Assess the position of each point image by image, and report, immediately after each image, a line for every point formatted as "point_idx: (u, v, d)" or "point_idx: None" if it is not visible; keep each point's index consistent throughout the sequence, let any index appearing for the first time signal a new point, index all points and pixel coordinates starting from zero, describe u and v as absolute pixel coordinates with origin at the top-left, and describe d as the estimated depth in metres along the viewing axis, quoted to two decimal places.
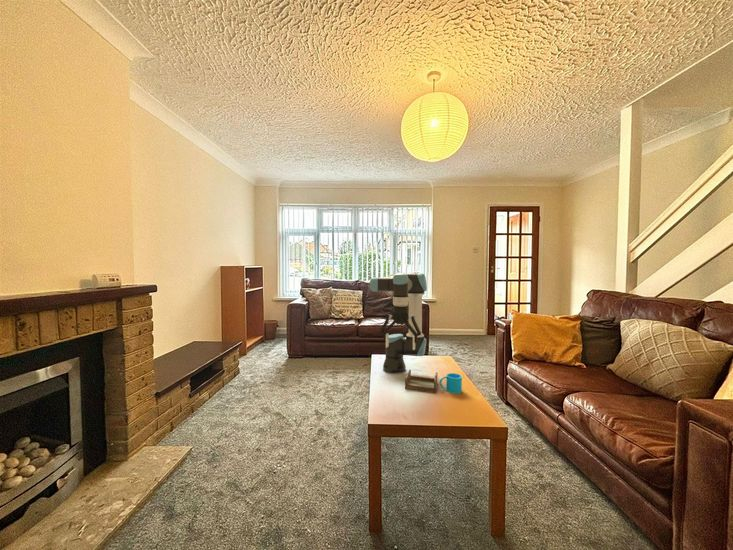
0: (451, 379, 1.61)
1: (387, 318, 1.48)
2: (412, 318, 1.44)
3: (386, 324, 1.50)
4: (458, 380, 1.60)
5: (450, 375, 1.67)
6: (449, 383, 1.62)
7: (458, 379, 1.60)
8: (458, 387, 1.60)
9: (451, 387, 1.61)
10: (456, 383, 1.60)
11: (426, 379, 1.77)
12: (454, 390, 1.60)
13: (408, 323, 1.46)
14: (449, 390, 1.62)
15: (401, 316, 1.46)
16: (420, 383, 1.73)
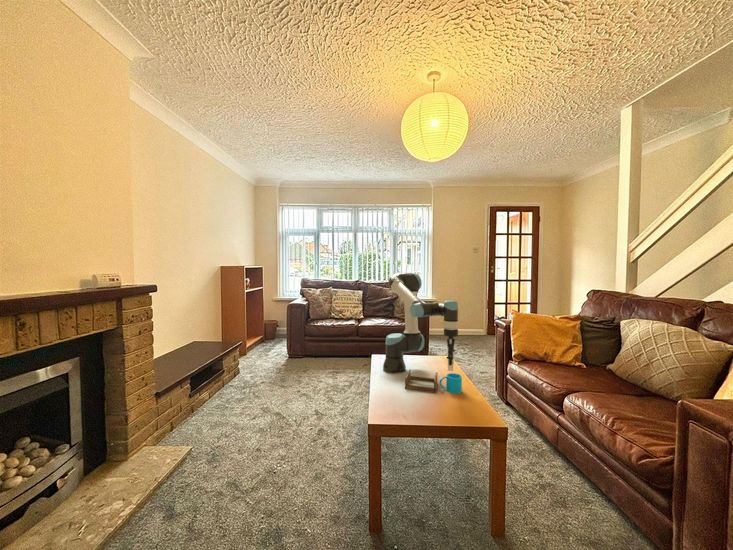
0: (451, 379, 1.61)
1: None
2: (448, 341, 1.59)
3: None
4: (458, 380, 1.60)
5: (450, 375, 1.67)
6: (449, 383, 1.62)
7: (458, 379, 1.60)
8: (458, 387, 1.60)
9: (451, 387, 1.61)
10: (456, 383, 1.60)
11: (426, 379, 1.77)
12: (454, 390, 1.60)
13: None
14: (449, 390, 1.62)
15: (448, 338, 1.64)
16: (420, 383, 1.73)
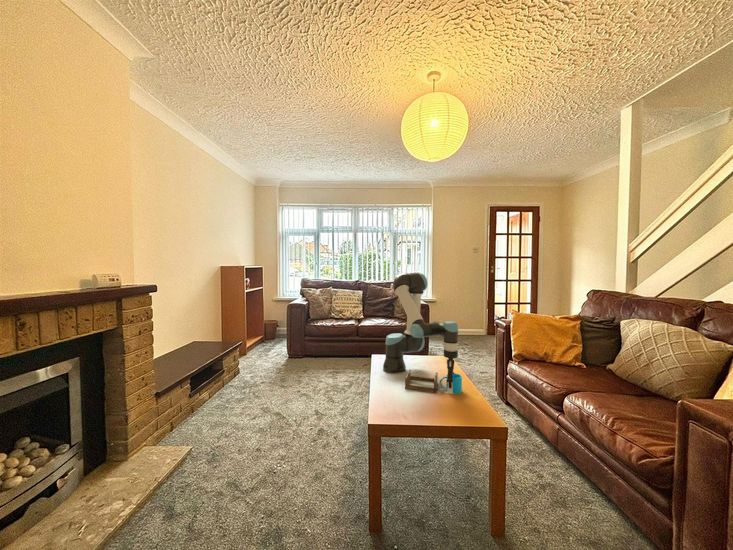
0: None
1: None
2: (447, 364, 1.59)
3: None
4: (458, 380, 1.60)
5: None
6: None
7: (458, 379, 1.60)
8: (458, 387, 1.60)
9: None
10: (456, 383, 1.60)
11: (426, 379, 1.77)
12: (454, 390, 1.60)
13: None
14: None
15: None
16: (420, 383, 1.73)
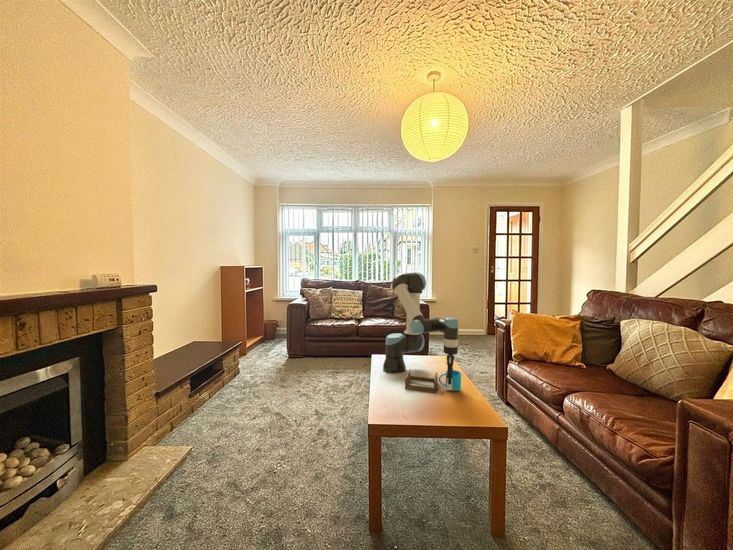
0: None
1: None
2: (447, 361, 1.59)
3: None
4: (457, 377, 1.60)
5: None
6: None
7: (457, 376, 1.60)
8: (457, 384, 1.61)
9: None
10: (455, 380, 1.60)
11: (426, 379, 1.77)
12: (453, 387, 1.61)
13: None
14: None
15: None
16: (420, 383, 1.73)
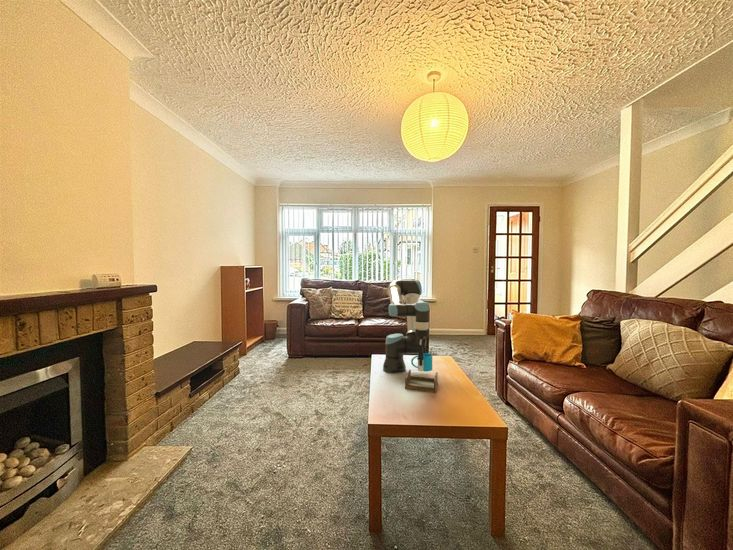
0: None
1: None
2: None
3: None
4: (428, 358, 1.66)
5: None
6: None
7: (428, 357, 1.66)
8: (428, 365, 1.66)
9: None
10: (426, 361, 1.66)
11: (426, 379, 1.77)
12: (424, 368, 1.66)
13: None
14: None
15: None
16: (420, 383, 1.73)
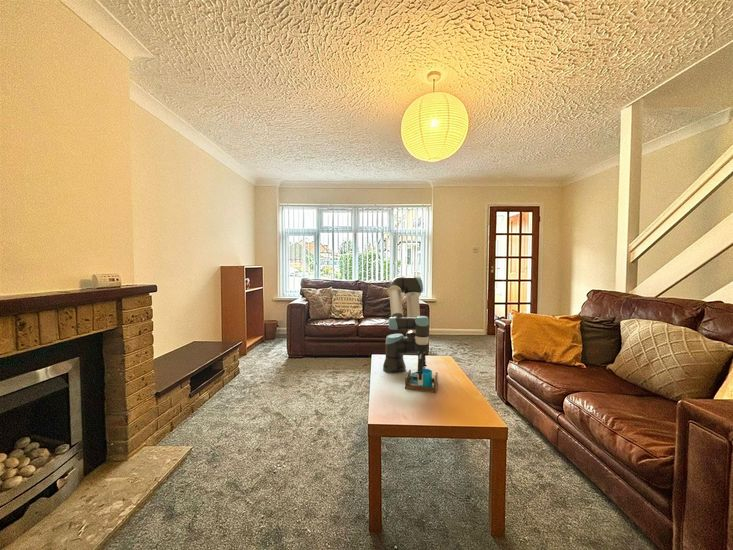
0: None
1: None
2: None
3: None
4: (428, 375, 1.66)
5: None
6: None
7: (428, 374, 1.66)
8: (428, 381, 1.67)
9: None
10: (426, 378, 1.66)
11: None
12: (424, 384, 1.67)
13: None
14: None
15: None
16: None
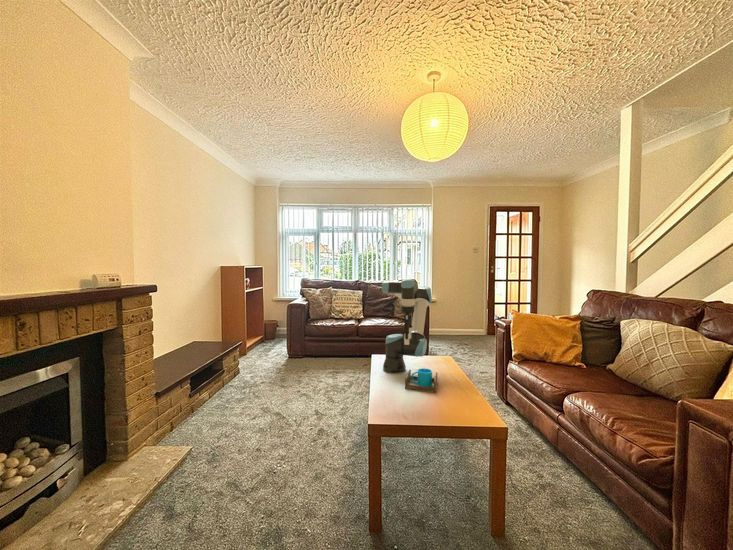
0: (422, 374, 1.67)
1: None
2: (404, 317, 1.69)
3: None
4: (428, 375, 1.66)
5: (421, 370, 1.73)
6: (420, 378, 1.68)
7: (428, 374, 1.66)
8: (428, 381, 1.67)
9: (421, 381, 1.67)
10: (426, 378, 1.66)
11: None
12: (424, 384, 1.67)
13: None
14: (420, 384, 1.68)
15: None
16: None
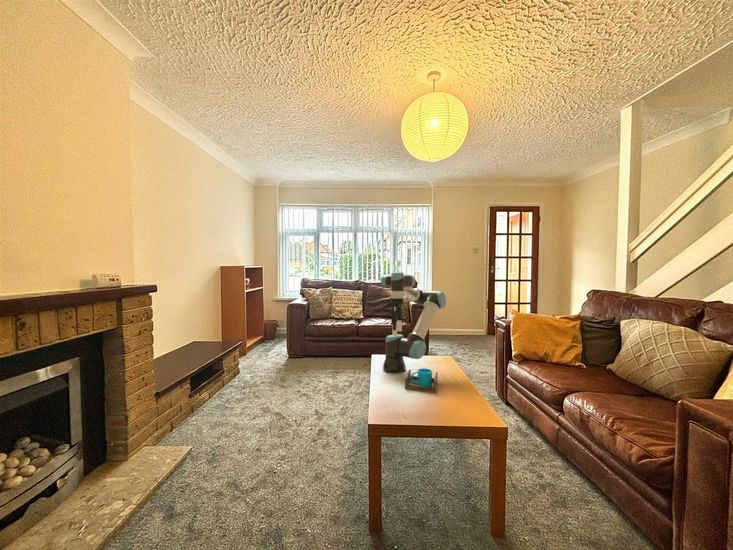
0: (422, 374, 1.67)
1: None
2: None
3: None
4: (428, 375, 1.66)
5: (421, 370, 1.73)
6: (420, 378, 1.68)
7: (428, 374, 1.66)
8: (428, 381, 1.67)
9: (421, 381, 1.67)
10: (426, 378, 1.66)
11: None
12: (424, 384, 1.67)
13: None
14: (420, 384, 1.68)
15: None
16: None
